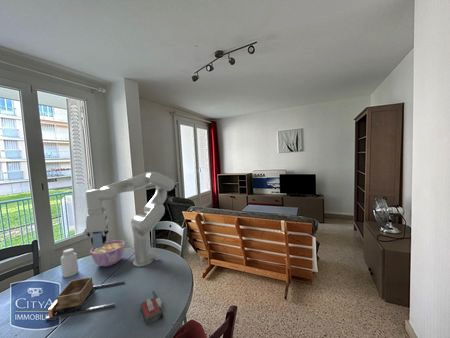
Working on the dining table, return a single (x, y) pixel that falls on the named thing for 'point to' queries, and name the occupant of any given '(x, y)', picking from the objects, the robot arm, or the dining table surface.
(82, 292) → the small wooden crate
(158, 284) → the dining table surface
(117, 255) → the bowl of food
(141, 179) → the robot arm
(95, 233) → the block
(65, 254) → the pill bottle
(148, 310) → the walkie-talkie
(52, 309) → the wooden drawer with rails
